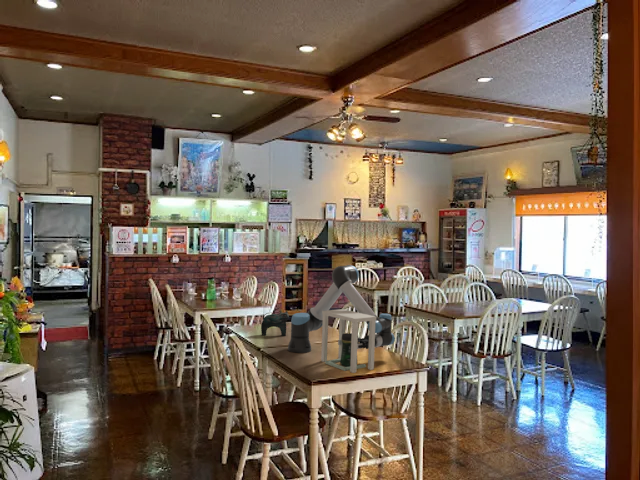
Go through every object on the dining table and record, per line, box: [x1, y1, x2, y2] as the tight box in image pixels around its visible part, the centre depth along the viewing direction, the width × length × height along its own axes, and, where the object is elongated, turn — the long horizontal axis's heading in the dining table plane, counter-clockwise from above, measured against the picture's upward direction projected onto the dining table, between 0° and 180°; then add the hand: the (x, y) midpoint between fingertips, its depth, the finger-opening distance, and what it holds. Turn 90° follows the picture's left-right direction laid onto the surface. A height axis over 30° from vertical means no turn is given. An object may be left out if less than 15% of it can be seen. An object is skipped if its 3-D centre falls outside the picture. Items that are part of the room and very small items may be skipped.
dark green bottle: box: [339, 332, 358, 367], centre depth 298 cm, size 10×8×19 cm
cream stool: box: [320, 308, 376, 374], centre depth 298 cm, size 17×30×30 cm, turn 37°
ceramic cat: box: [260, 307, 290, 337], centre depth 374 cm, size 20×6×20 cm, turn 92°
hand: (345, 344), depth 297 cm, fingers open, 13 cm apart
